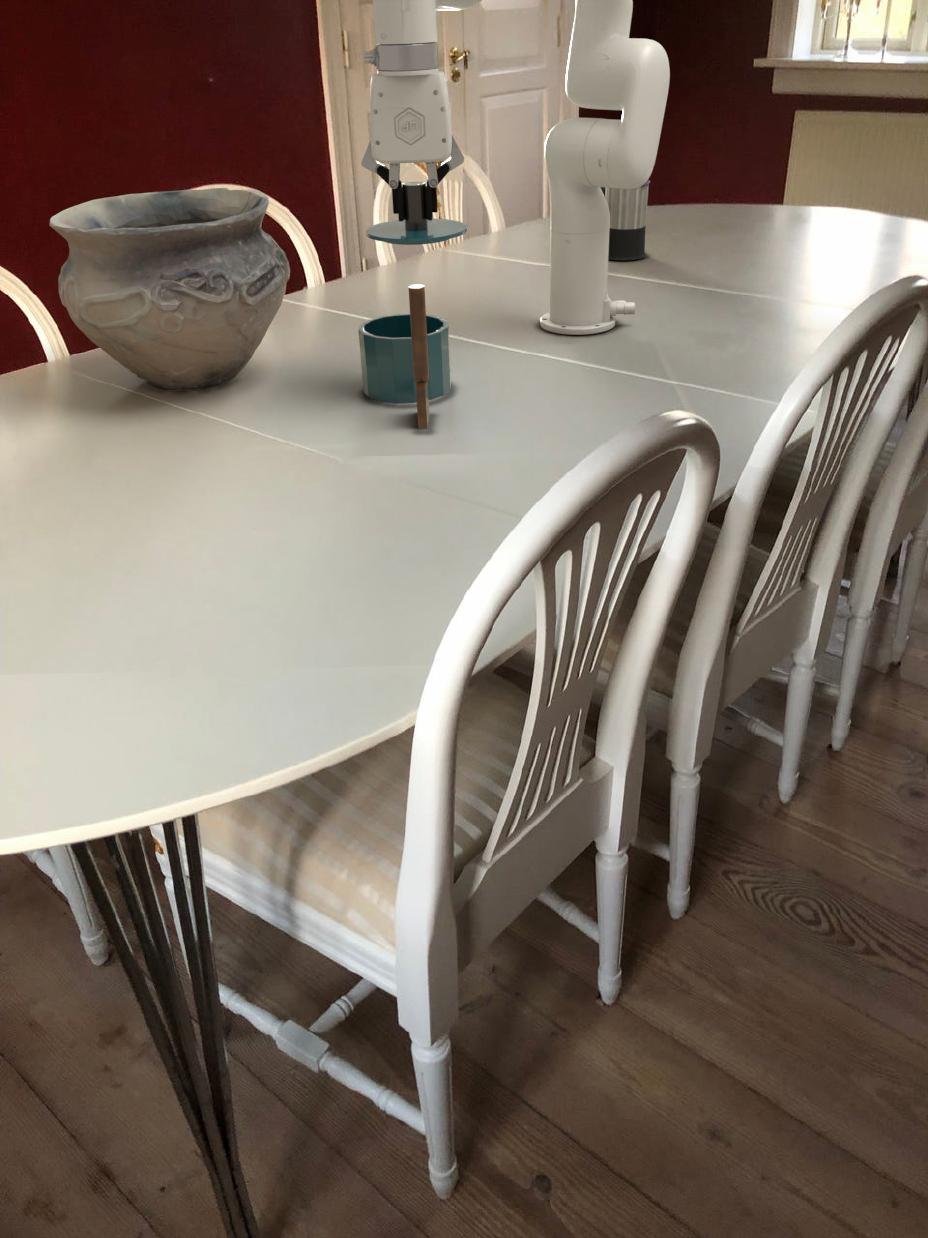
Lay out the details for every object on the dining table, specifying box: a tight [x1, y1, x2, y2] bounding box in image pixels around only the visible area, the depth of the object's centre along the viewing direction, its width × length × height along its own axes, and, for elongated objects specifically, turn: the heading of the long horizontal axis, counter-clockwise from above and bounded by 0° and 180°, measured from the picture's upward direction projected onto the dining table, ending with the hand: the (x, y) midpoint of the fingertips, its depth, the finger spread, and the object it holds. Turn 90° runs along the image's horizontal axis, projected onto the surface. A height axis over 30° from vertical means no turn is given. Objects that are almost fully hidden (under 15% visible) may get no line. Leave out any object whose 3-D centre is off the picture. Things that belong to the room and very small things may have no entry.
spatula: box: [408, 283, 430, 430], centre depth 133 cm, size 2×6×18 cm, turn 179°
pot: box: [358, 313, 452, 404], centre depth 146 cm, size 12×12×10 cm
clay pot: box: [49, 187, 291, 392], centre depth 151 cm, size 33×32×25 cm
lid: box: [365, 181, 468, 246], centre depth 135 cm, size 13×13×7 cm
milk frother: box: [600, 179, 651, 262], centre depth 211 cm, size 14×16×15 cm
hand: (415, 217), depth 136 cm, fingers closed on lid, 3 cm apart
